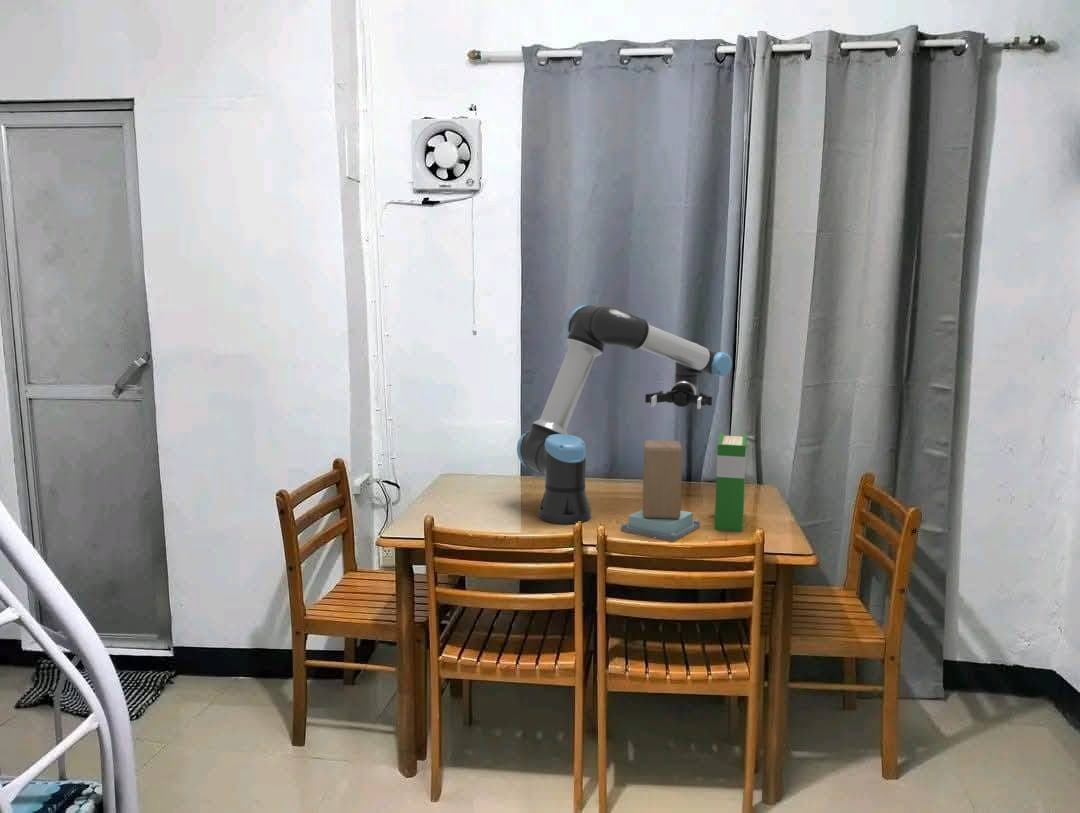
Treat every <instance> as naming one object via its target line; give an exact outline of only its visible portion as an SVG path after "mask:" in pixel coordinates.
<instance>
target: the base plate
mask: <svg viewBox="0 0 1080 813" xmlns="http://www.w3.org/2000/svg"><path fill="white" fill-rule="evenodd" d="M693 516H694V512H690V511H686V510H680V517H679V518H678V519H662V518H646V517H644V515H643V508H642V509H640V510H638V511H636V512H634V513H632V514H629V515H628V523H626V522H623V523H621V526H620V531H621V532H624V531H627V532H626V533H629V532H631V533H630V534H633V533H635V535H638V534H640V535H639V536H643V535H645V536H644V537H648V536H650V537H649V538H652V537H656V538H655V539H657V538H659V540H661V541H667V540H669V541H668V542H671V541H675V542H677V541H678V540H679V539H678V538H680V537H682V536H683V537H685V536H686V535H685V534H687V533H688V534H690V533H692V532H693V530H694V531H695V530H697V529H699V528H701V526H700V525H701V522H700V520H699V519H694V518H693ZM698 527H699V528H698ZM696 528H697V529H696ZM691 531H692V532H691ZM689 532H690V533H689ZM688 534H687V535H688ZM684 535H685V536H684ZM683 537H682V538H683ZM677 539H678V540H677ZM680 539H681V538H680Z"/></svg>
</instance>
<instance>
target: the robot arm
mask: <svg viewBox="0 0 1080 813" xmlns="http://www.w3.org/2000/svg"><path fill="white" fill-rule="evenodd" d="M568 316H569V317H568V318H567V322H566V329H567V334H568V335H567V338H566V342H567V345H568V349H567V351H566V353H565V357H564V359H563V361H562V363H561V367H560V369H559V371H558V372H557V376H556V379H555V381H554V383H553V386H552V388H551V391H550V393H549V396H548V398H547V401H546V402H545V405H544V408H543V410H542V413H541V416H540V418H539V419H538V420H535V421H533V423H532V424H531V427H530V429H529V430H528V431H526V432H525V433H523V434H521V436H520V437H519V440H518V441H517V445H516V453H517V454H516V455H517V458H518V459H519V461H520V462H521V464H522V465H523V466H524V467H526V468H527V469H528V470H531V471H533V472H537V473H538V474H541V475H543V476H545V477H544V488H545V489H544V493H543V496H542V499H541V502H540V505H539V508H538V509H539V510H538V516H539V519H541V520H542V521H544V522H548V523H552V524H560V525H562V524H563V525H570V524H576V523H575V522H578V521H583V522H582V523H584V522H587V521H589V520H590V519H591V517H592V510H591V509H592V508H591V506H590V503H589V499H588V496H587V493H586V463H587V462H586V457H587V450H586V443H585V441H584V440H583V439H582V438H580V437H578V436H576V435H571V434H568V431H567V429H568V426H569V424H570V420H571V418H572V415H573V414H574V410H575V408H576V405H577V403H578V402H579V398H580V397H581V394H582V391H583V388H584V386H585V384H586V380H587V378H588V375H589V373H590V371H591V368H592V365H593V363H594V361H595V358H596V357H599V356H602V354H603V352H604V350H605V346H616V347H617V346H618V347H624V348H628V349H630V350H634V351H636V350H639V349H640V350H643V351H645V352H649V353H651V354H654V355H656V356H658V357H661V358H664V359H668V360H670V361H671V362H672V361H673V362H675V372H674V385H673V387H672V388H671V390H670V391H669V390H668V391H667V392H664V391H663V390H660V391H658V392H652V393H651V392H650V393H645V399H644V400H645V402H644V403H647V404H648V403H650V408H654V407H655V406H656V405H657V404H658V403H669V404H671V403H673V404H674V405H675V406H677V407H679V408H684V407H687V406H690V405H691V404H695V405H696V406H697V410H700V409H702V408H701V407H702V406H706V405H708V406H712V405H713V396H709V395H707V394H705V393H703V392H699V390H700V389H699V388H700V387H699V383H698V382H699V374H702V375H709V376H713V377H725V376H727V375H728V374H729V373H730V371H731V370H732V366H733V361H732V357H731V356H730V355H729V354H728V353H726V352H722V351H719V352H718V351H715V350H712V349H709V348H707V347H704V346H702V345H700V344H699V343H697V342H692V341H690V340H687V339H684V338H683V337H680V336H679V335H678V336H677V335H675V334H673V333H670V332H668V331H665V330H663V329H660V328H658V327H656V326H653V325H650V323H649V322H648V321H647V319H645V318H642V317H640V316H638V315H636V314H633V313H631V312H629V311H627V310H625V309H622V308H621V307H617V306H613V305H597V304H585V305H581V306H578V307H577V308H575V309H573V311H572V312H571V313H570V314H569V315H568Z"/></svg>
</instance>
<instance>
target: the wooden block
mask: <svg viewBox="0 0 1080 813" xmlns="http://www.w3.org/2000/svg"><path fill="white" fill-rule="evenodd" d="M643 445H644V446H643V482H642V484H643V485H642V486H643V490H642V492H643V493H642V509H643V515H644V517H646V518H662V519H678V518H679V517H680V511H681V507H682V506H681V504H682V474H683V473H682V470H683V449H682V444H681V442H680V441H679V440H662V439H659V440H658V439H657V440H655V439H654V440H653V439H651V440H650V439H648V440H645V441H644V444H643Z"/></svg>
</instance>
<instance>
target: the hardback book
mask: <svg viewBox="0 0 1080 813" xmlns="http://www.w3.org/2000/svg"><path fill="white" fill-rule="evenodd" d="M747 437H748V433H743V436H737V435H725V433H724V432H720V434H719V437H718V441H717V450H716V451H717V452H716V479H715V480H716V481H715V505H714V507H715V509H714V511H715V512H714V531H715V530H716V531H728V532H729V531H730V532H740V533H741V532H743V525H744V515H743V514H744V512H745V490H746V488H745V487H746V486H745V485H746V465H747V463H746V462H747Z"/></svg>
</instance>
